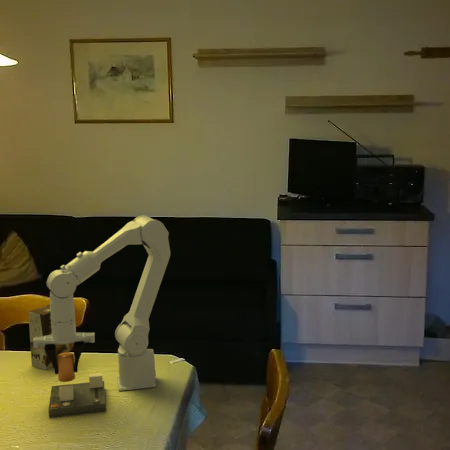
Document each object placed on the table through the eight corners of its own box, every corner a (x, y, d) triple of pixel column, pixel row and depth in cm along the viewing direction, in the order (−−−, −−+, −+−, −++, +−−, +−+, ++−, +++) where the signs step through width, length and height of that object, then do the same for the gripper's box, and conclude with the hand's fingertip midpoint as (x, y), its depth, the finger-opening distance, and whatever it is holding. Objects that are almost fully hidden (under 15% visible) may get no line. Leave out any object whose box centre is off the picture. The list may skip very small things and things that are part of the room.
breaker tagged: (73, 396, 148) (73, 385, 148) (73, 399, 147) (72, 388, 146) (60, 398, 148) (59, 386, 147) (59, 401, 146) (59, 389, 145)
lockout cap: (77, 375, 153) (76, 353, 152) (70, 382, 149) (68, 359, 148) (63, 374, 154) (61, 351, 153) (55, 381, 150) (53, 358, 149)
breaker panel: (104, 388, 158) (104, 379, 157) (105, 411, 145) (105, 401, 145) (52, 393, 155) (51, 384, 155) (49, 417, 142) (48, 408, 142)
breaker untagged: (102, 384, 155) (102, 372, 155) (102, 387, 153) (102, 375, 153) (89, 385, 155) (89, 374, 154) (89, 388, 153) (89, 377, 152)
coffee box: (46, 370, 169) (42, 314, 167) (30, 365, 173) (26, 311, 170) (71, 359, 177) (67, 305, 174) (55, 355, 180) (52, 302, 178)
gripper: (93, 311, 155) (96, 362, 157) (33, 316, 152) (37, 368, 154) (93, 320, 148) (96, 373, 150) (31, 325, 145) (34, 379, 147)
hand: (66, 371), depth 152 cm, fingers closed on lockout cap, 4 cm apart
